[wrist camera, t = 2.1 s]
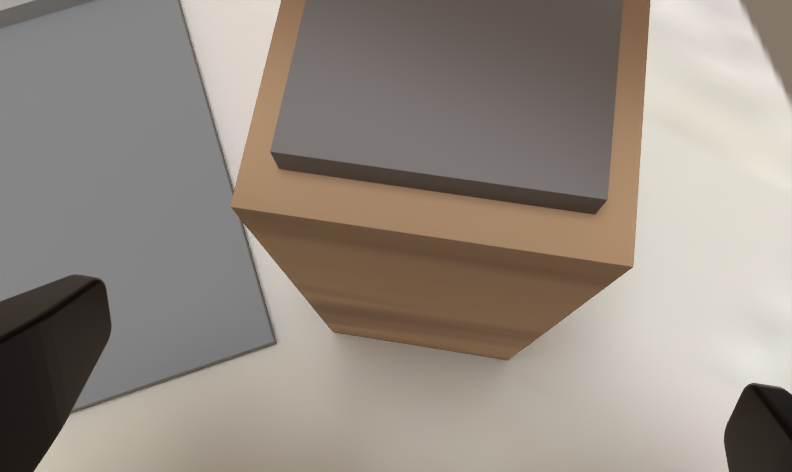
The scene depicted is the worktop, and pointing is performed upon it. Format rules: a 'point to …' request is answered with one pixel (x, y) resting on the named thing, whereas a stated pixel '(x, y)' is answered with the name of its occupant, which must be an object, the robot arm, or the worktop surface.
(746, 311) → the worktop surface
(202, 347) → the grey flat slab
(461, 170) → the wooden tall block
